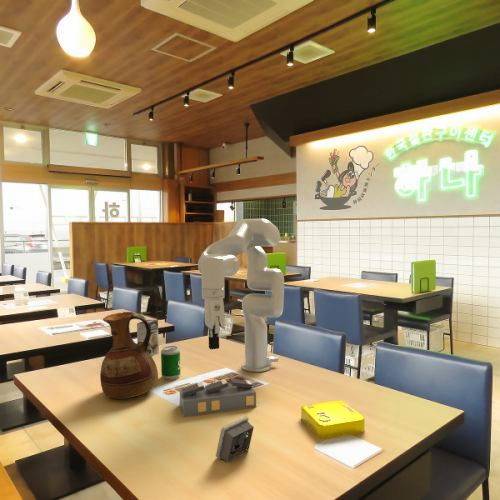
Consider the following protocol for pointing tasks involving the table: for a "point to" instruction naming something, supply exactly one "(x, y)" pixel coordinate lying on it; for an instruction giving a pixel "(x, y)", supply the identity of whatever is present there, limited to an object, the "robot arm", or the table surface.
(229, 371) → the table surface
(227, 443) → the electrical switch
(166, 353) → the soda can
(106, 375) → the ceramic pitcher
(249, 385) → the rocker
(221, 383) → the block
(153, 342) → the coffee box
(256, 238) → the robot arm
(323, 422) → the element tile
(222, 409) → the switch housing
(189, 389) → the rocker
